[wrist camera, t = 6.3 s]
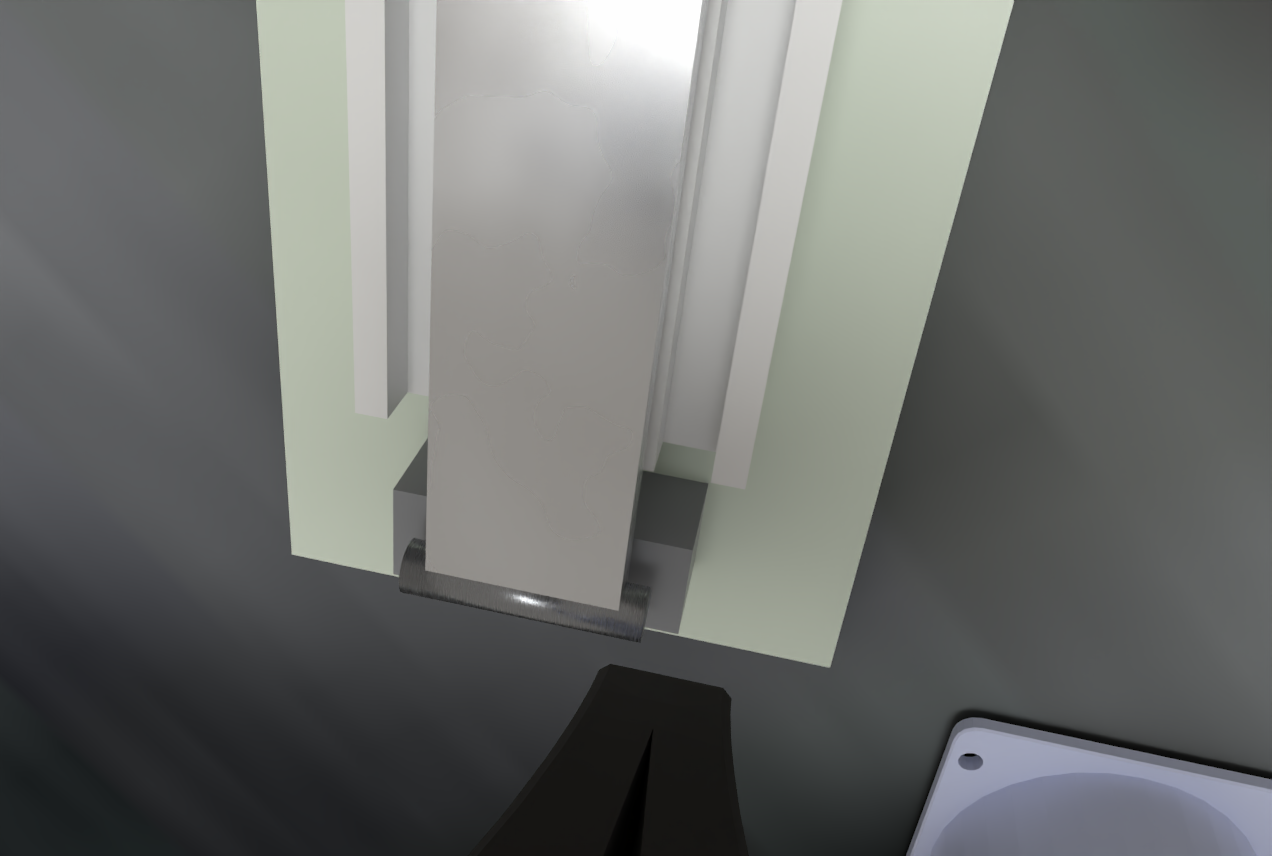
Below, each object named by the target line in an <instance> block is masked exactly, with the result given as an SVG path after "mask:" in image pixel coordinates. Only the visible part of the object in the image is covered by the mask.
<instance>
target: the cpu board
mask: <svg viewBox="0 0 1272 856" xmlns="http://www.w3.org/2000/svg"><path fill="white" fill-rule="evenodd" d="M1013 3H1014V0H708V7H707V14H706V22H705V29H704V36H703V43H702V50H701V57H700V65H699V72H698V79H697V86H696V93H695V100H694V108H693V115H692V122H691V129H690V136H689V143H688V150H687V158H686V165H685V172H684V179H683V186H682V193H681V201H680V208H679V215H678V222H677V229H676V236H675V244H674V251H673V258H672V265H671V272H670V279H669V287H668V294H667V301H666V308H665V315H664V322H663V329H662V337H661V344H660V351H659V358H658V365H657V372H656V380H655V387H654V394H653V401H652V408H651V415H650V423H649V430H648V437H647V444H646V451H645V458H644V466H643V473H642V480H641V487H640V494H639V501H638V508H637V516H636V523H635V530H634V537H633V544H632V551H631V559H630V566H629V573H628V580H627V582H630V583H635V584H640V585H645V586H649V587H652V590H651V598H650V604H649V609H648V614H647V619H646V624H645V628H644V629H648V630H653V631H658V632H662V633H667V634H672V635H677V636H681V637H686V638H691V639H696V640H700V641H705V642H710V643H715V644H719V645H724V646H729V647H734V648H738V649H743V650H748V651H753V652H757V653H762V654H767V655H772V656H776V657H781V658H786V659H791V660H795V661H800V662H805V663H810V664H814V665H819V666H824V667H829V668H830V666H831V662H832V659H833V655H834V651H835V648H836V644H837V640H838V637H839V633H840V630H841V626H842V622H843V619H844V615H845V611H846V608H847V604H848V601H849V597H850V593H851V590H852V586H853V583H854V579H855V575H856V572H857V568H858V564H859V561H860V557H861V554H862V550H863V546H864V543H865V539H866V535H867V532H868V528H869V525H870V521H871V517H872V514H873V510H874V506H875V503H876V499H877V496H878V492H879V488H880V485H881V481H882V477H883V474H884V470H885V467H886V463H887V459H888V456H889V452H890V448H891V445H892V441H893V438H894V434H895V430H896V427H897V423H898V419H899V416H900V412H901V409H902V405H903V401H904V398H905V394H906V390H907V387H908V383H909V380H910V376H911V372H912V369H913V365H914V361H915V358H916V354H917V351H918V347H919V343H920V340H921V336H922V333H923V329H924V325H925V322H926V318H927V314H928V311H929V307H930V304H931V300H932V296H933V293H934V289H935V285H936V282H937V278H938V275H939V271H940V267H941V264H942V260H943V256H944V253H945V249H946V246H947V242H948V238H949V235H950V231H951V227H952V224H953V220H954V217H955V213H956V209H957V206H958V202H959V198H960V195H961V191H962V188H963V184H964V180H965V177H966V173H967V169H968V166H969V162H970V159H971V155H972V151H973V148H974V144H975V140H976V137H977V133H978V130H979V126H980V122H981V119H982V115H983V111H984V108H985V104H986V101H987V97H988V93H989V90H990V86H991V82H992V79H993V75H994V72H995V68H996V64H997V61H998V57H999V54H1000V50H1001V46H1002V43H1003V39H1004V35H1005V32H1006V28H1007V25H1008V21H1009V17H1010V14H1011V10H1012V6H1013ZM256 6H257V21H258V37H259V52H260V68H261V83H262V99H263V114H264V129H265V145H266V160H267V176H268V191H269V207H270V222H271V238H272V253H273V269H274V284H275V300H276V315H277V331H278V346H279V362H280V377H281V393H282V408H283V424H284V439H285V455H286V470H287V486H288V501H289V516H290V532H291V547H292V555H297V556H302V557H307V558H311V559H316V560H321V561H326V562H330V563H335V564H340V565H345V566H349V567H354V568H359V569H364V570H368V571H373V572H378V573H382V574H387V575H392V576H397V577H399V573H400V567H401V563H402V559H403V556H404V553H405V550H406V548H407V546H408V544H409V542H410V541H411V540H412V539H413V538H417V539H422V540H426V510H427V460H428V409H429V359H430V308H431V258H432V208H433V157H434V107H435V57H436V6H437V0H256Z"/></svg>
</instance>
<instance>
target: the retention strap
mask: <svg viewBox="0 0 1272 856" xmlns="http://www.w3.org/2000/svg"><path fill="white" fill-rule="evenodd" d="M707 7H708V0H437V6H436V57H435V107H434V157H433V208H432V258H431V308H430V359H429V409H428V460H427V510H426V540H422V539H417V538H413V539H412V540H411V541H410V542H409V544H408V546H407V548H406V550H405V553H404V556H403V559H402V563H401V567H400V573H399V589H400V591H401V592H403V593H408V594H413V595H417V596H422V597H427V598H431V599H436V600H441V601H446V602H450V603H455V604H460V605H464V606H469V607H474V608H479V609H483V610H488V611H493V612H497V613H502V614H507V615H512V616H516V617H521V618H526V619H530V620H535V621H540V622H545V623H549V624H554V625H559V626H563V627H568V628H573V629H578V630H582V631H587V632H592V633H596V634H601V635H606V636H611V637H615V638H620V639H625V640H629V641H634V642H639V643H640V642H641V640H642V636H643V632H644V628H645V624H646V619H647V614H648V609H649V604H650V598H651V590H652V587H649V586H645V585H640V584H635V583H630V582H627V580H628V573H629V566H630V559H631V551H632V544H633V537H634V530H635V523H636V516H637V508H638V501H639V494H640V487H641V480H642V473H643V466H644V458H645V451H646V444H647V437H648V430H649V423H650V415H651V408H652V401H653V394H654V387H655V380H656V372H657V365H658V358H659V351H660V344H661V337H662V329H663V322H664V315H665V308H666V301H667V294H668V287H669V279H670V272H671V265H672V258H673V251H674V244H675V236H676V229H677V222H678V215H679V208H680V201H681V193H682V186H683V179H684V172H685V165H686V158H687V150H688V143H689V136H690V129H691V122H692V115H693V108H694V100H695V93H696V86H697V79H698V72H699V65H700V57H701V50H702V43H703V36H704V29H705V22H706V14H707Z"/></svg>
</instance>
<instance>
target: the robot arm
mask: <svg viewBox="0 0 1272 856" xmlns="http://www.w3.org/2000/svg"><path fill="white" fill-rule="evenodd" d="M730 711H731V697H730V696H729V695H728V694H727V692H726V691H725V690H724V689H723V688H720V687H716V686H711V685H706V684H702V683H697V682H692V681H688V680H683V679H678V678H674V677H669V676H664V675H660V674H655V673H650V672H646V671H641V670H636V669H632V668H627V667H623V666H618V665H613V664H610V665H608V666H606V667H604V668H602V669H600V670H599V671H598V674H597V676H596V678H595V680H594V682H593V684H592V686H591V688H590V690H589V692H588V693H587V695H586V697H585V699H584V700H583V702H582V704H581V706H580V707H579V709H578V711H577V712H576V714H575V716H574V717H573V719H572V720H571V722H570V723H569V725H568V727H567V728H566V730H565V731H564V733H563V734H562V735H561V737H560V738H559V740H558V741H557V743H556V744H555V746H554V747H553V749H552V750H551V752H550V753H549V755H548V756H547V757H546V759H545V760H544V761H543V763H542V764H541V765H540V767H539V768H538V769H537V771H536V772H535V773H534V775H533V776H532V777H531V779H530V780H529V781H528V783H527V784H526V785H525V787H524V788H523V789H522V791H521V792H520V793H519V795H518V796H517V797H516V799H515V800H514V801H513V803H512V804H511V805H510V807H509V808H508V809H507V810H506V812H505V813H504V814H503V815H502V816H501V818H500V819H499V820H498V821H497V822H496V824H495V825H494V826H493V827H492V828H491V829H490V831H489V832H488V833H487V834H486V835H485V836H484V838H483V839H482V840H481V841H480V842H479V843H478V845H477V846H476V847H475V848H474V849H473V850H472V852H471V853H470V854H469V855H468V856H749V855H748V850H747V845H746V841H745V836H744V831H743V826H742V821H741V815H740V809H739V803H738V797H737V789H736V782H735V774H734V767H733V757H732V746H731V721H730ZM966 753H974V754H977V755H976V756H973V757H966V756H963V755H964V754H966ZM906 856H1272V779H1267V778H1262V777H1257V776H1253V775H1248V774H1243V773H1239V772H1234V771H1229V770H1224V769H1220V768H1215V767H1210V766H1206V765H1201V764H1196V763H1191V762H1187V761H1182V760H1177V759H1173V758H1168V757H1163V756H1158V755H1154V754H1149V753H1144V752H1140V751H1135V750H1130V749H1125V748H1121V747H1116V746H1111V745H1107V744H1102V743H1097V742H1093V741H1088V740H1083V739H1078V738H1074V737H1069V736H1064V735H1060V734H1055V733H1050V732H1045V731H1041V730H1036V729H1031V728H1027V727H1022V726H1017V725H1012V724H1008V723H1003V722H998V721H994V720H989V719H984V718H975V717H972V718H967V719H963V720H962V721H960V722H958V723H957V724H956V725H955V727H954V728H953V730H952V732H951V735H950V738H949V740H948V743H947V746H946V749H945V751H944V754H943V757H942V759H941V762H940V765H939V768H938V770H937V773H936V776H935V778H934V781H933V784H932V787H931V789H930V792H929V795H928V797H927V800H926V803H925V805H924V808H923V811H922V814H921V816H920V819H919V822H918V824H917V827H916V830H915V833H914V835H913V838H912V841H911V843H910V846H909V849H908V852H907V854H906Z"/></svg>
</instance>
